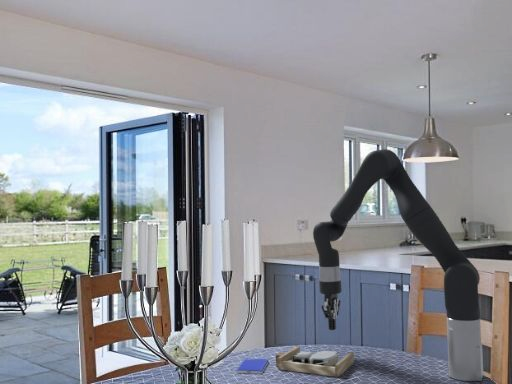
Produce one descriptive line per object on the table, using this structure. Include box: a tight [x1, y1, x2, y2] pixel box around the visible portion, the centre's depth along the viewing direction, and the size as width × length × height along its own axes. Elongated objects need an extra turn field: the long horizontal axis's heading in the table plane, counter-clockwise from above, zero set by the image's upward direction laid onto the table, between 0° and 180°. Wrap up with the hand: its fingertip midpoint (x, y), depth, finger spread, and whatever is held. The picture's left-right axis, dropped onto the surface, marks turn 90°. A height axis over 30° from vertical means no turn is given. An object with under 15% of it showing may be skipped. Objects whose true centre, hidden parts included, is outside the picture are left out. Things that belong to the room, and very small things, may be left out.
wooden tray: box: [275, 345, 355, 378], centre depth 172 cm, size 22×16×4 cm
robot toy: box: [289, 350, 342, 367], centre depth 171 cm, size 12×4×15 cm
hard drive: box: [235, 358, 270, 375], centre depth 172 cm, size 2×8×12 cm
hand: (332, 329), depth 185 cm, fingers closed
